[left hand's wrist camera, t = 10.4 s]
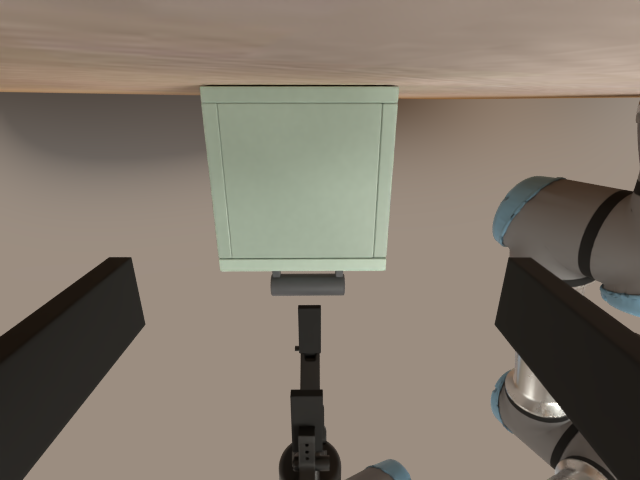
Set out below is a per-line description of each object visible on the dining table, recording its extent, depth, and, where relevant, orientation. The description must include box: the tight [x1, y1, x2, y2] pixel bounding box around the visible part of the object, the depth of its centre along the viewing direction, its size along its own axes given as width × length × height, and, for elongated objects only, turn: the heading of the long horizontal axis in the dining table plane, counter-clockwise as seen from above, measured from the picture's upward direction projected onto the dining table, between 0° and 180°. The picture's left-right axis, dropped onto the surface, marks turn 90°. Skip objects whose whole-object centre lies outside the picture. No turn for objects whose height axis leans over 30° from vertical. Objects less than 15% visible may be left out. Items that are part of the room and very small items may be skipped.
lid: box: [219, 257, 386, 296], centre depth 29 cm, size 14×10×8 cm
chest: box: [200, 86, 399, 258], centre depth 26 cm, size 13×10×10 cm
